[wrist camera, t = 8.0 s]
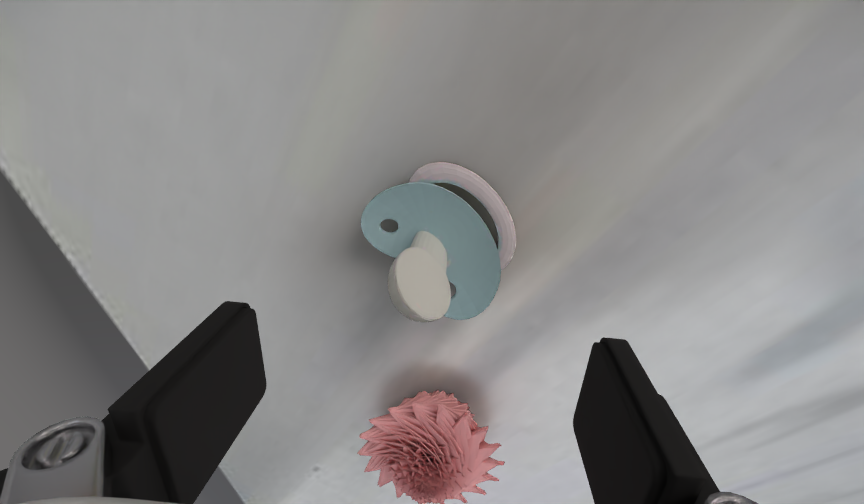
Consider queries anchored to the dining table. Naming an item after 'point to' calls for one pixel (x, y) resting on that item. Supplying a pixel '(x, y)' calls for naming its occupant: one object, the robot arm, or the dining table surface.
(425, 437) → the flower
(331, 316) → the dining table surface
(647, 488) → the robot arm
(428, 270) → the pacifier
